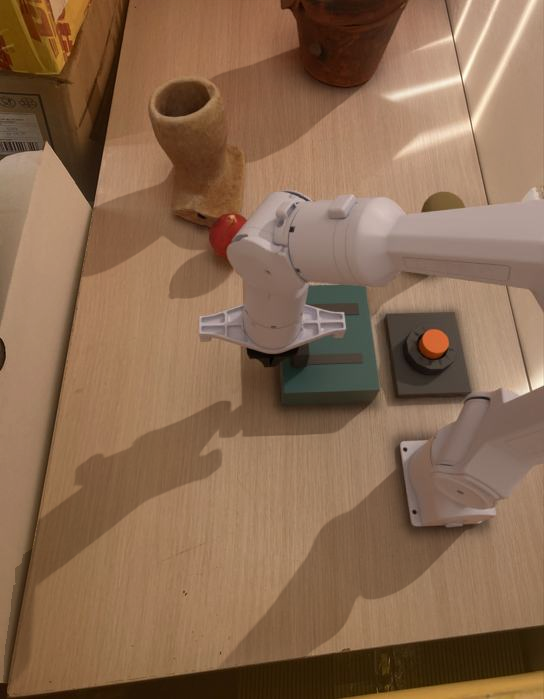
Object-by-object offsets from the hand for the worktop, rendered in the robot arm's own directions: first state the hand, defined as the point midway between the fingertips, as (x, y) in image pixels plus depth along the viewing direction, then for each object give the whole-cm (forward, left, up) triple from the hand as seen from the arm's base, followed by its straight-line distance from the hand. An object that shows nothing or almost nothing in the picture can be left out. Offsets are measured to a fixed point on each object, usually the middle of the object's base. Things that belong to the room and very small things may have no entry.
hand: (269, 359), depth 61 cm
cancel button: (+2, -20, -2) cm, 20 cm away
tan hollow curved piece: (+29, +8, -5) cm, 31 cm away
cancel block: (+2, -20, -5) cm, 21 cm away
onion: (+18, +4, -5) cm, 19 cm away
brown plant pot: (+56, -14, -5) cm, 58 cm away
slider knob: (0, -3, 0) cm, 3 cm away
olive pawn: (+17, -22, -5) cm, 28 cm away
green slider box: (+3, -7, -5) cm, 9 cm away
